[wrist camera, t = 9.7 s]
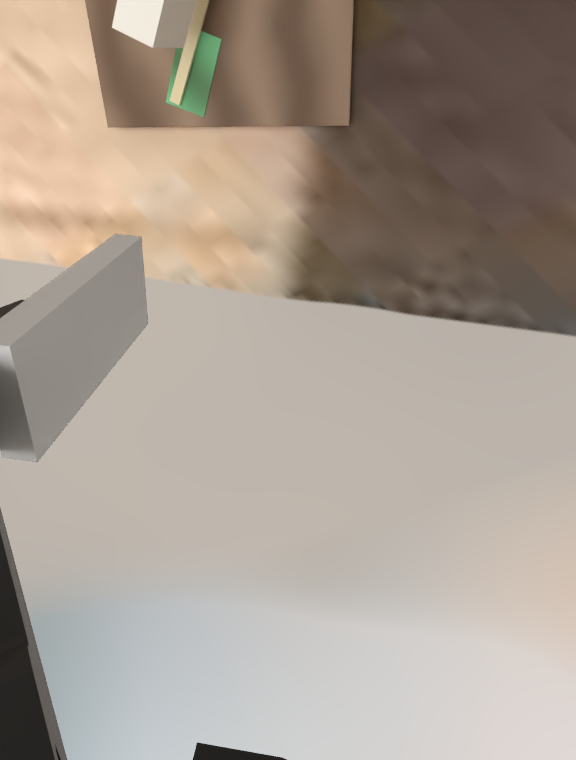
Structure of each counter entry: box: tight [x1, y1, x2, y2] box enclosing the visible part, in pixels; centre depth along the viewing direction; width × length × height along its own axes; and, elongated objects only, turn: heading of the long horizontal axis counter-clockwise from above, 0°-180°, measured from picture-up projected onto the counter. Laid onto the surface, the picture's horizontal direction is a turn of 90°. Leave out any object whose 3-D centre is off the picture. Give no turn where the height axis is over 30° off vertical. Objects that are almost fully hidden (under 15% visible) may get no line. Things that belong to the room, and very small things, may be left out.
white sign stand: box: [112, 0, 210, 105], centre depth 34 cm, size 14×2×12 cm, turn 157°
